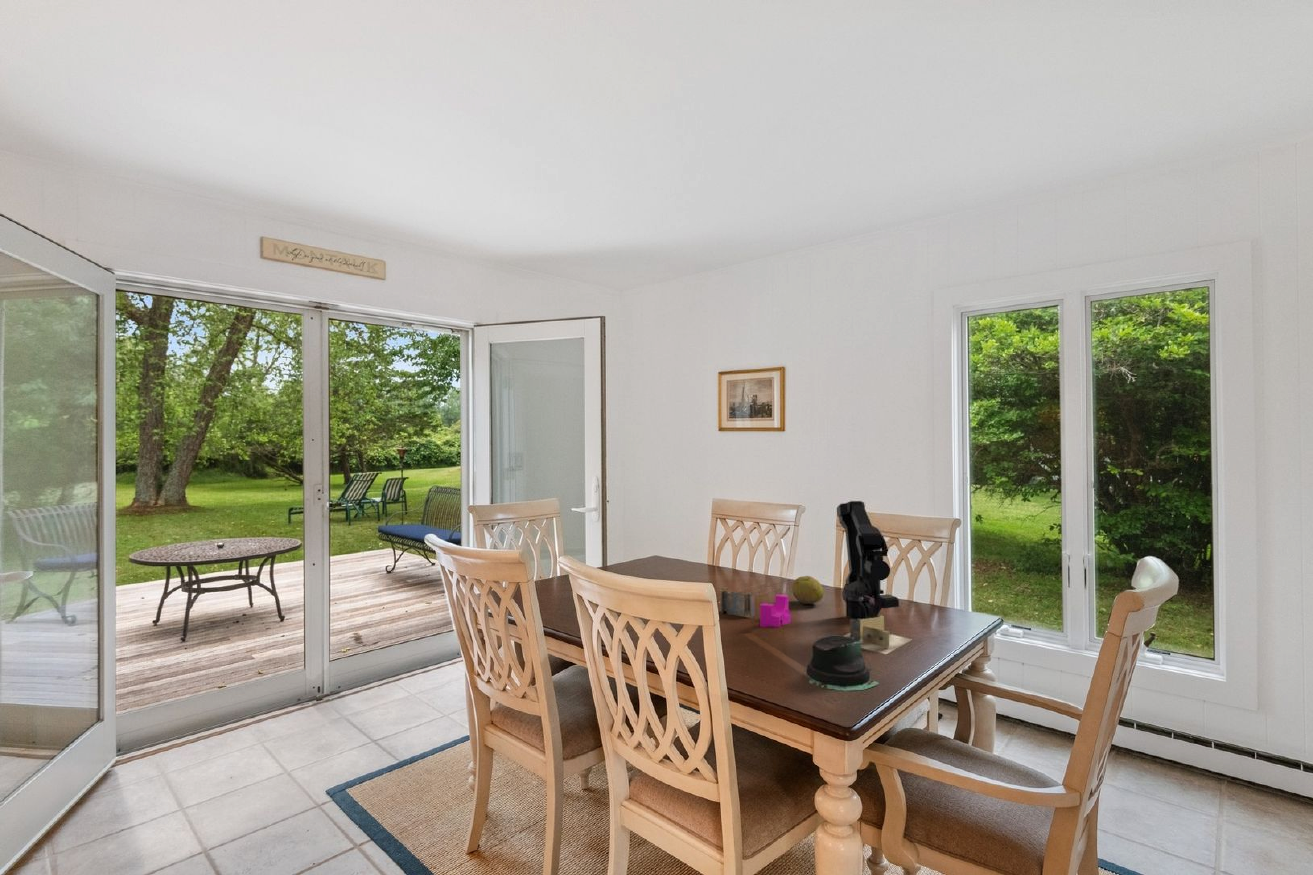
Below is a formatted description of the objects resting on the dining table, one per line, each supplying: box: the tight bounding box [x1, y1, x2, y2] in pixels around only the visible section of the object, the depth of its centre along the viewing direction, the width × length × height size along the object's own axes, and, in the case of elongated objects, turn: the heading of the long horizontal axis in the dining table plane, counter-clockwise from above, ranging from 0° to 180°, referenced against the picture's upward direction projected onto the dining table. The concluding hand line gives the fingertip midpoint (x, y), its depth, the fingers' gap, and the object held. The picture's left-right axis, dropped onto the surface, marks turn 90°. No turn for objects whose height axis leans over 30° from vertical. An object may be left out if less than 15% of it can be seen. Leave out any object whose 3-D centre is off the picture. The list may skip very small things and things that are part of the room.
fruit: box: [791, 575, 825, 605], centre depth 222 cm, size 11×12×10 cm
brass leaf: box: [857, 615, 885, 637], centre depth 182 cm, size 8×1×5 cm, turn 109°
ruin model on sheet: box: [720, 586, 755, 619], centre depth 209 cm, size 11×3×10 cm, turn 57°
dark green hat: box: [806, 634, 880, 692], centre depth 156 cm, size 20×20×9 cm
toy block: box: [759, 594, 792, 628], centre depth 199 cm, size 15×6×8 cm, turn 147°
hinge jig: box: [843, 618, 913, 655], centre depth 178 cm, size 16×17×7 cm
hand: (871, 623), depth 186 cm, fingers closed
